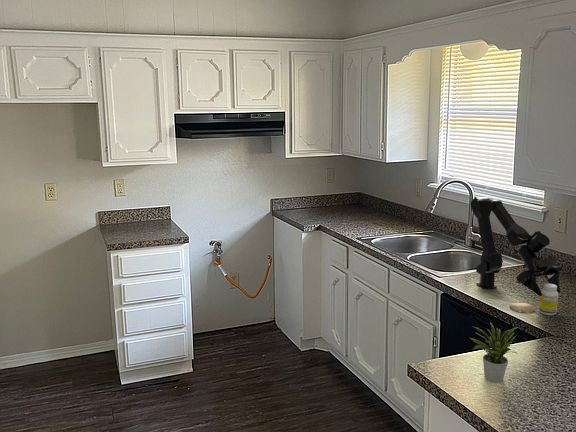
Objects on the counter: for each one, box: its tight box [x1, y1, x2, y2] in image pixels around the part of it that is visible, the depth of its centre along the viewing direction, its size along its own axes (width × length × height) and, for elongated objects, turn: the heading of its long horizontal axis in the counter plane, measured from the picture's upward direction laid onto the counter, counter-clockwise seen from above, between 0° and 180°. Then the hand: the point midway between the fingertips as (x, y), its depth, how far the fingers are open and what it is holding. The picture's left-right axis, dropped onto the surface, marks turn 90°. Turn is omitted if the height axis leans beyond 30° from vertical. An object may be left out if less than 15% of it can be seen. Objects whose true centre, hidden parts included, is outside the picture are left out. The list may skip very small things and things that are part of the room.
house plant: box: [469, 321, 519, 383], centre depth 173 cm, size 14×14×16 cm
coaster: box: [509, 302, 536, 313], centre depth 229 cm, size 9×9×1 cm
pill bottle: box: [538, 283, 559, 316], centre depth 224 cm, size 6×6×11 cm
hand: (550, 294), depth 223 cm, fingers open, 9 cm apart
